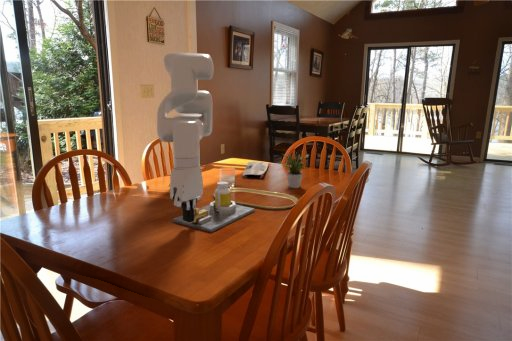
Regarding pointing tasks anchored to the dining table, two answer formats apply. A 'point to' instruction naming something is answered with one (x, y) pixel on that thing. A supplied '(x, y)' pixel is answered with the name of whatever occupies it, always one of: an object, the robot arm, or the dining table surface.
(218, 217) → the dock
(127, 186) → the dining table surface
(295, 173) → the house plant
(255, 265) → the dining table surface
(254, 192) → the gold oval ring
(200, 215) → the bolt
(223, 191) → the supplement bottle
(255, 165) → the newspaper
